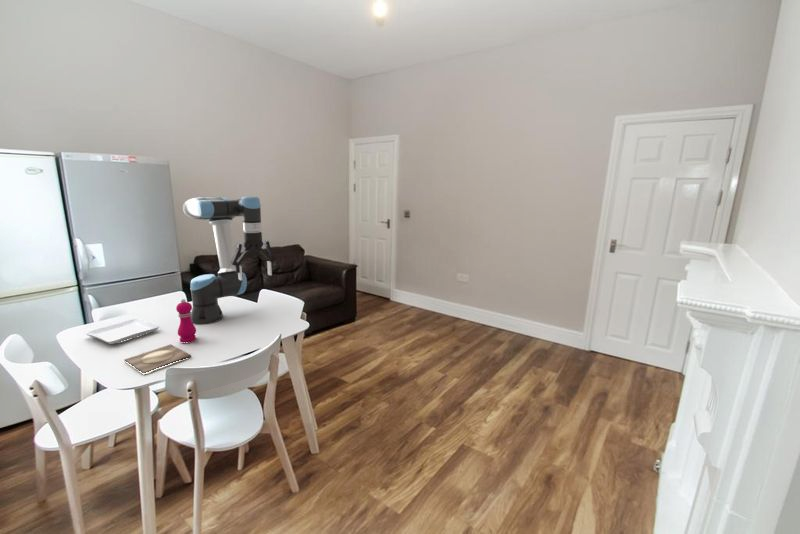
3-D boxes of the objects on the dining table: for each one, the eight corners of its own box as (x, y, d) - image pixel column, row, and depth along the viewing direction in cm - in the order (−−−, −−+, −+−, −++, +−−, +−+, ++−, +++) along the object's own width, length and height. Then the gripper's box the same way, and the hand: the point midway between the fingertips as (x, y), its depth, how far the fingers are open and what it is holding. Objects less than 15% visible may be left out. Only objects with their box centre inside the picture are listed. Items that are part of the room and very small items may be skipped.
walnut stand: (124, 362, 139) (124, 358, 139) (171, 346, 153) (170, 343, 153) (143, 375, 130) (143, 371, 130) (191, 357, 144) (190, 354, 144)
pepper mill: (184, 345, 154) (178, 302, 150) (175, 341, 158) (170, 299, 154) (200, 339, 160) (195, 298, 156) (192, 335, 164) (187, 295, 160)
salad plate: (136, 323, 177) (135, 317, 177) (161, 332, 168) (160, 325, 168) (85, 339, 159) (84, 332, 158) (110, 349, 150) (109, 342, 149)
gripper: (226, 235, 144) (230, 283, 150) (282, 230, 162) (284, 274, 167) (220, 232, 150) (224, 279, 155) (275, 228, 167) (277, 271, 172)
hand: (255, 277), depth 161 cm, fingers open, 13 cm apart
